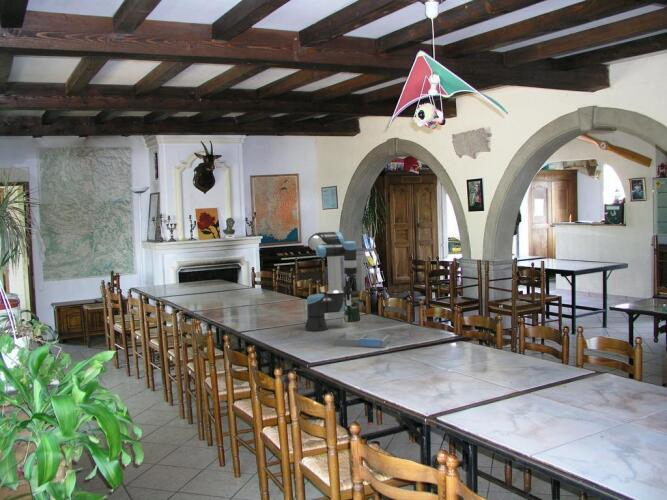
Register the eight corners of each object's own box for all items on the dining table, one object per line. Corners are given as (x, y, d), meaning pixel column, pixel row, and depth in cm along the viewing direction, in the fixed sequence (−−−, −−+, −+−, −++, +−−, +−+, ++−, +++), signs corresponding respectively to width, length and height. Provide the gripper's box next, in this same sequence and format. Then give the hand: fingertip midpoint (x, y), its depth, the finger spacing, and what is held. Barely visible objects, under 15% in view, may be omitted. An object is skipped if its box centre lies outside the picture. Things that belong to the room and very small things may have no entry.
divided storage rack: (343, 339, 403) (342, 331, 402) (390, 341, 393) (390, 333, 392) (333, 345, 386) (333, 337, 386) (383, 348, 376) (383, 340, 376)
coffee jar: (356, 319, 399) (355, 289, 397) (362, 321, 392) (361, 291, 390) (341, 321, 395) (341, 290, 393) (347, 323, 388) (346, 292, 386)
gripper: (350, 265, 402) (351, 300, 404) (338, 269, 381) (339, 307, 383) (361, 265, 400) (362, 301, 401) (350, 269, 379) (351, 307, 381)
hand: (351, 303), depth 392 cm, fingers closed on coffee jar, 10 cm apart
